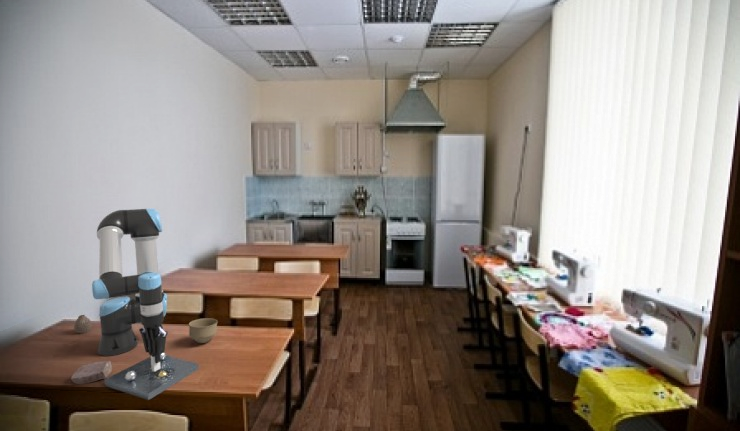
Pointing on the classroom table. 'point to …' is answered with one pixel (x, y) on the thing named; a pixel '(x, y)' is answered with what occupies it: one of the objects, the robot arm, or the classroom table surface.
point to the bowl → (203, 329)
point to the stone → (92, 372)
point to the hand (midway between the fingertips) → (156, 369)
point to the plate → (151, 377)
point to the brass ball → (162, 373)
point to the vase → (82, 324)
